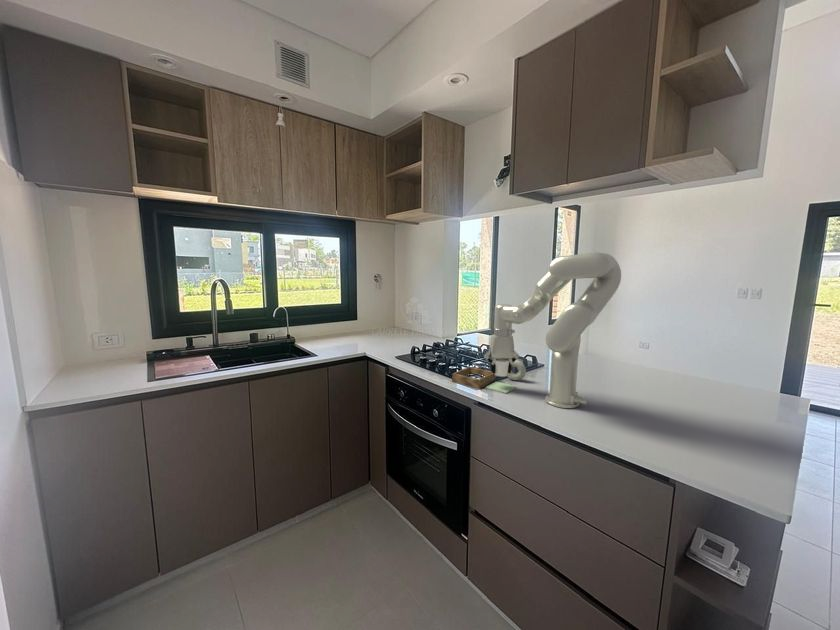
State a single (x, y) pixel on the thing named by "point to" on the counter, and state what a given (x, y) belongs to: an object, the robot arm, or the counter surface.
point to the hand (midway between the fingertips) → (500, 372)
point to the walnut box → (472, 382)
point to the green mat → (500, 387)
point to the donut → (520, 371)
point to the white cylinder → (501, 367)
